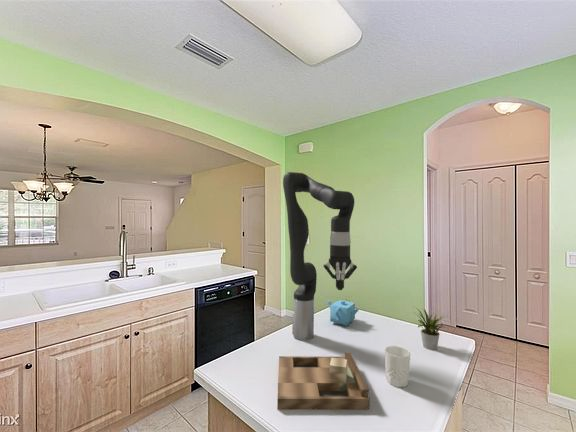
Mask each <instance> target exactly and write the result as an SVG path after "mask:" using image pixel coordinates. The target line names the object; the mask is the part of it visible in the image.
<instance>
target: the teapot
mask: <svg viewBox="0 0 576 432" xmlns="http://www.w3.org/2000/svg"><path fill="white" fill-rule="evenodd" d="M325 301H326V302H327V303H328V305H329V306H328V307H329V310H330V311H329V313H330V314H329V315H330V316H329V321H330V323H333V324H334V325H338V324H340V325H343V327H344V328H345V327H348V326H349V325H350V324H352V323H353V321H355V319H356V314H357V313H358V312H359V310H360V309H359V308H356V303H355V302H352V301H346V300H340V299H339V300H337V301H335V302H333V303H332V302H331V301H330V300H328V299H326V300H325Z"/></svg>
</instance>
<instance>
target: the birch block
mask: <svg viewBox="0 0 576 432" xmlns="http://www.w3.org/2000/svg"><path fill="white" fill-rule="evenodd" d="M330 357H331V362H330V381H332V382H338V383H344V384H346V378H347V360H346V359H339V358H332V357H333V356H330Z"/></svg>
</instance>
